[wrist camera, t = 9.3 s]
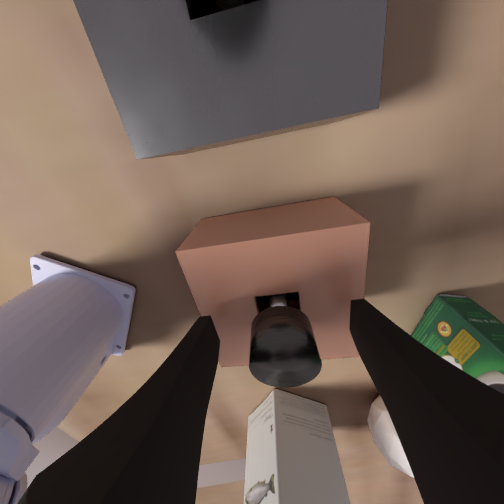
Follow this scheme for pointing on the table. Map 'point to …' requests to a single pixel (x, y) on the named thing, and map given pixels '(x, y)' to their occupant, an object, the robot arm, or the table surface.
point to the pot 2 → (279, 271)
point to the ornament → (387, 436)
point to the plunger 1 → (228, 4)
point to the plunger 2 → (283, 346)
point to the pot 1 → (234, 68)
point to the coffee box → (465, 337)
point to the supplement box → (292, 454)
